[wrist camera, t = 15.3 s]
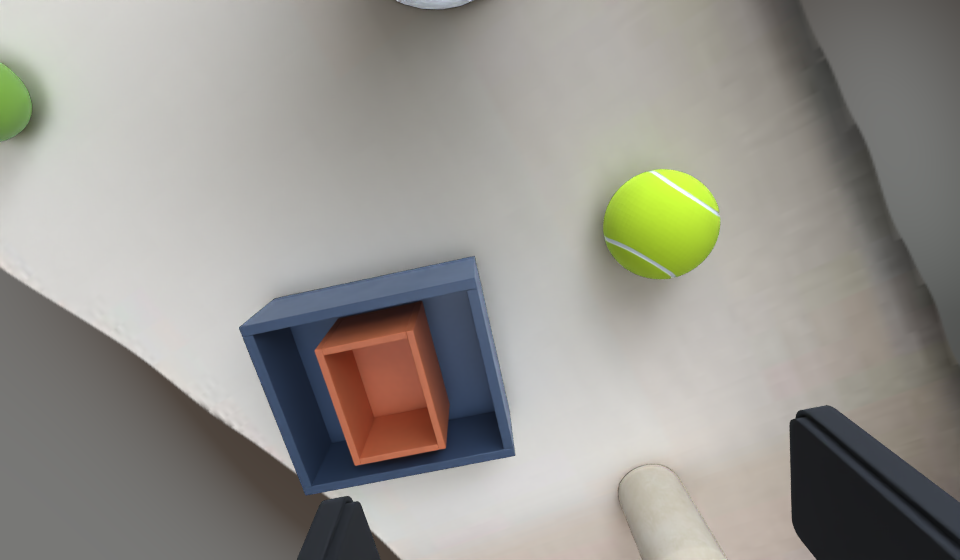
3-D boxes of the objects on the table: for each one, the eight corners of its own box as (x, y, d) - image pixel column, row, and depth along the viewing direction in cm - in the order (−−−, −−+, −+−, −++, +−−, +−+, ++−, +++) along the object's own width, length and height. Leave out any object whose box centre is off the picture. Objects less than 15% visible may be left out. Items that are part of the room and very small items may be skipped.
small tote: (337, 318, 35) (313, 350, 30) (422, 300, 35) (412, 330, 30) (371, 420, 38) (354, 466, 32) (450, 404, 37) (446, 448, 32)
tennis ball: (629, 147, 32) (670, 150, 26) (709, 198, 33) (768, 214, 27) (573, 233, 34) (598, 257, 27) (650, 279, 35) (692, 313, 28)
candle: (624, 521, 42) (668, 636, 32) (611, 472, 40) (653, 577, 31) (685, 506, 41) (749, 617, 32) (674, 456, 40) (737, 557, 30)
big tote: (274, 298, 35) (238, 327, 30) (474, 255, 34) (474, 277, 29) (328, 446, 39) (305, 496, 34) (509, 411, 38) (515, 456, 33)
